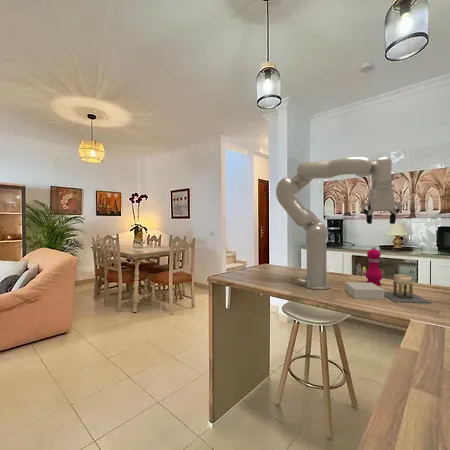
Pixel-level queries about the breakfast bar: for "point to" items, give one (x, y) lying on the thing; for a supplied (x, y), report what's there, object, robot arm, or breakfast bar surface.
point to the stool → (404, 281)
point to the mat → (405, 298)
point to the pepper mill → (373, 267)
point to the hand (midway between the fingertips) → (380, 223)
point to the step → (364, 290)
